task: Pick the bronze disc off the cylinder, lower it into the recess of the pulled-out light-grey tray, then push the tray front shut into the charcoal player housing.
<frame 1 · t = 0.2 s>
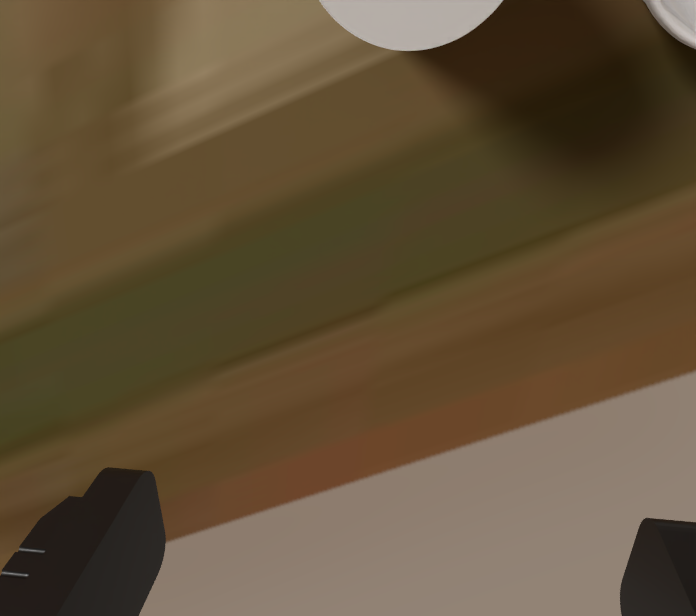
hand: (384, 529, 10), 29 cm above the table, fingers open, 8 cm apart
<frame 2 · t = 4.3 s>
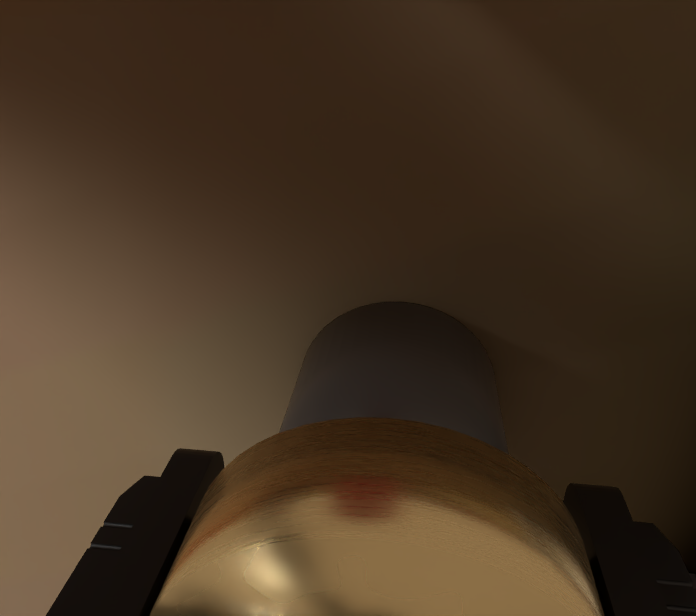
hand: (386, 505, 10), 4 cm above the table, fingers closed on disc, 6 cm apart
cylinder: (396, 388, 14), on the table
disc: (382, 574, 9), point 5 cm above the table, touching gripper, cylinder
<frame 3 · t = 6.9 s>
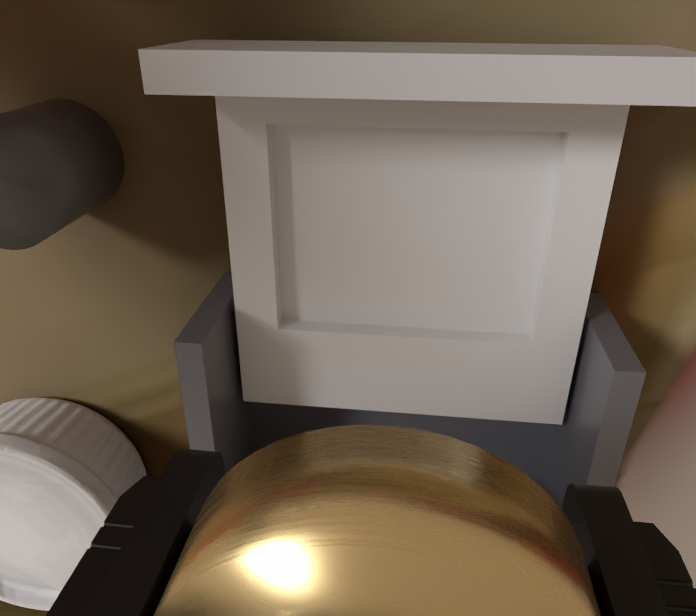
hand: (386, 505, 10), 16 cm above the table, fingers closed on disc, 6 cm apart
cylinder: (72, 155, 25), on the table
tray: (406, 264, 21), point 4 cm above the table, slide at 8.0 cm
disc: (382, 580, 9), point 17 cm above the table, touching gripper
ramekin: (70, 458, 33), on the table
housing: (398, 414, 29), on the table
when the fingers open (3 cm above the table, at t = 9.6 s): disc drops 2 cm, resting on tray.
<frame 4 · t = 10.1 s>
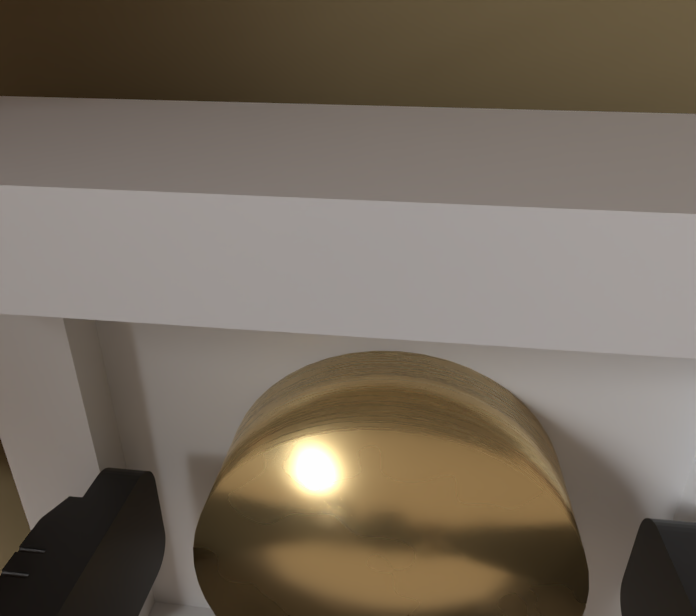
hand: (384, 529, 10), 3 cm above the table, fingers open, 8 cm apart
tray: (381, 579, 10), point 4 cm above the table, slide at 8.0 cm, touching disc
disc: (390, 491, 11), point 2 cm above the table, touching tray
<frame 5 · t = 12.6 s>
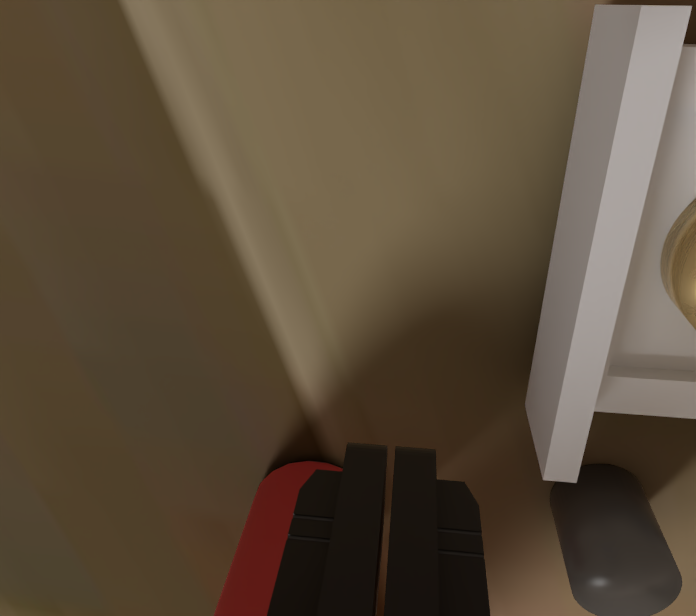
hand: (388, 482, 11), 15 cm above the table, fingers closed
cylinder: (595, 498, 30), on the table
beer can: (318, 498, 32), on the table
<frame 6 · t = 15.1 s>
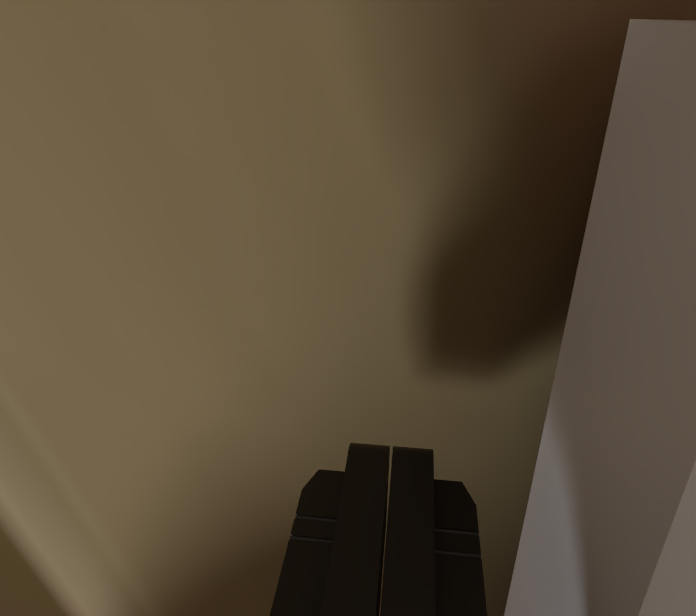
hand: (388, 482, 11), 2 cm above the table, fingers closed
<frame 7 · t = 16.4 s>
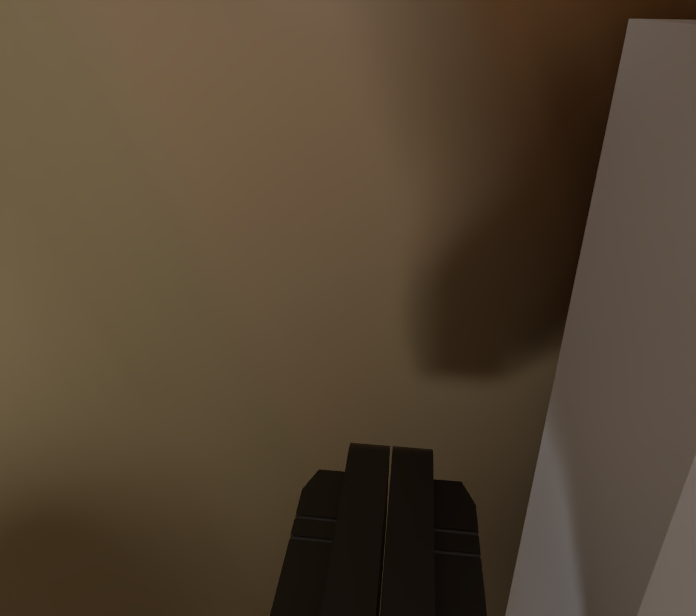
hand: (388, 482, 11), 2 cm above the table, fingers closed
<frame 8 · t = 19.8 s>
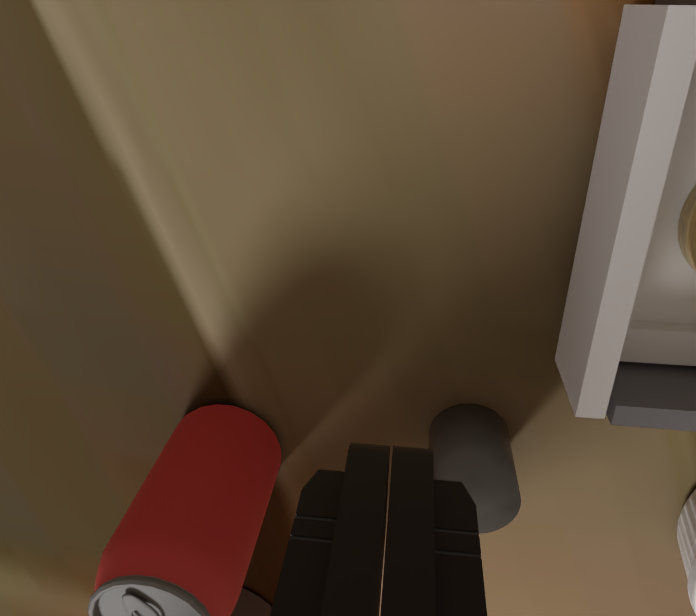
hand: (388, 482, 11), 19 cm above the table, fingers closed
cylinder: (468, 435, 34), on the table
beer can: (231, 440, 36), on the table
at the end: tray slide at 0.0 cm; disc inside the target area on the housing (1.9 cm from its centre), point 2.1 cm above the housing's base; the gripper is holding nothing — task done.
